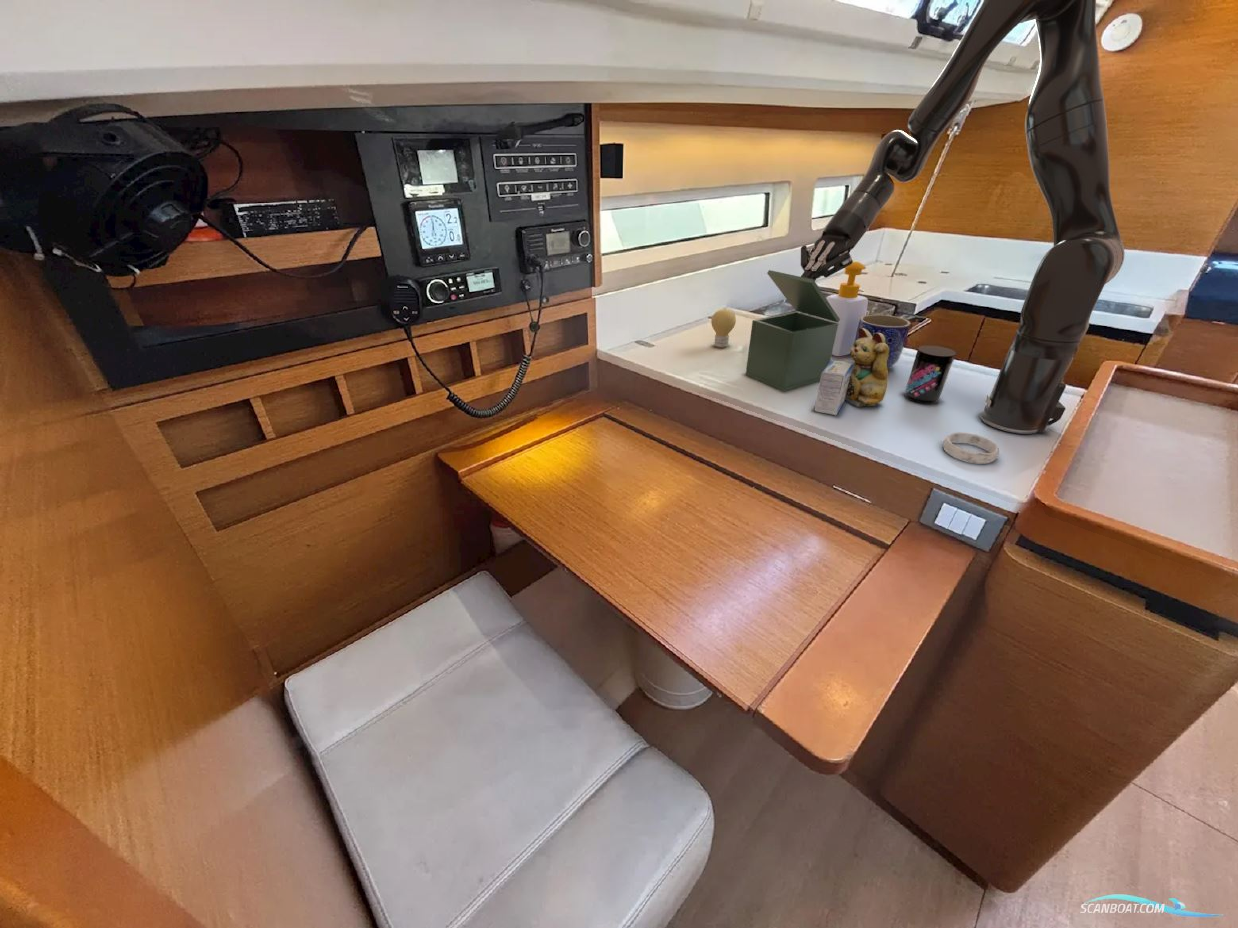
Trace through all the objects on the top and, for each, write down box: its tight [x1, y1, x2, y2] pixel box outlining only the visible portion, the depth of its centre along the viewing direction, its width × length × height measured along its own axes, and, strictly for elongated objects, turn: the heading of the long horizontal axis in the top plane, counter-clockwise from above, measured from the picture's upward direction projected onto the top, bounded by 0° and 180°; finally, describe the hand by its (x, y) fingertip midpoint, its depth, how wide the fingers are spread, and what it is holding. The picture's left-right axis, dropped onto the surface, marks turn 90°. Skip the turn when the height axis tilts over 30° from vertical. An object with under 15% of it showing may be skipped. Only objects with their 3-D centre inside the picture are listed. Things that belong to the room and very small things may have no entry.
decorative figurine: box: [845, 328, 889, 408], centre depth 101 cm, size 10×8×15 cm
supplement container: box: [904, 345, 957, 405], centre depth 103 cm, size 7×7×10 cm
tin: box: [745, 311, 838, 392], centre depth 114 cm, size 14×12×13 cm
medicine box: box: [814, 359, 853, 416], centre depth 101 cm, size 8×4×9 cm, turn 148°
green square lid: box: [766, 269, 840, 322], centre depth 108 cm, size 15×12×1 cm
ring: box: [942, 432, 1000, 465], centre depth 86 cm, size 8×8×2 cm
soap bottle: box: [822, 261, 869, 357], centre depth 129 cm, size 10×14×22 cm
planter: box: [854, 314, 911, 370], centre depth 120 cm, size 11×11×11 cm
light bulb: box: [710, 308, 737, 349], centre depth 134 cm, size 6×6×10 cm
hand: (800, 288), depth 107 cm, fingers closed
